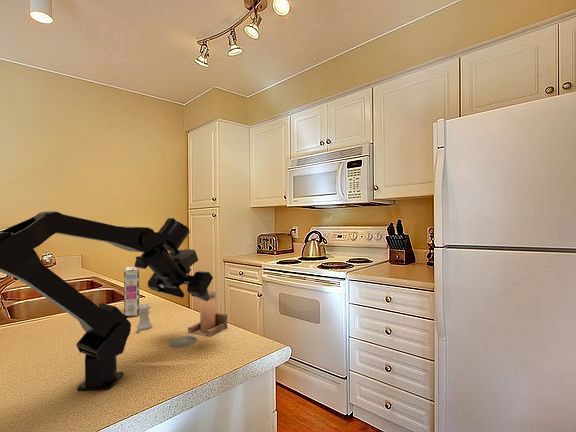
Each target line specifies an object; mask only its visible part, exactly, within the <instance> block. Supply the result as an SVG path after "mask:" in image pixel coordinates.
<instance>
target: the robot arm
mask: <svg viewBox="0 0 576 432" xmlns="http://www.w3.org/2000/svg"><path fill="white" fill-rule="evenodd" d="M55 234H57V235H63V236H69V237H74V238H81V239H87V240H93V241H96V242H103V243H107V244H111V245H112V246H114V247H117V248H119V249H121V250H124V251H127V252H134V253H135V252H137V253H142V254H141V255H140V256H139V255H138V256H135V259H136V260H135V262H134V266H135V267H137V268H139V269H143V270H146V269H147V268H149V270H151V271H152V272H153V274H151V276H150V278H149V280H147V287H148V288H149V289H150V290H151V291H156V292H158V293H162V294H166V295H169V296H174V297H176V298H180V299H183V298H184V297H185V293H184V291H183V290H182V289H181V287H180V286H182V285H187V288H186V289H187V290H186V292H188V294H190V296H191V297H193V298H196V299H199V300H200V299H201V300H204V301H208V300H209V294H208V291H209V289H208V288H209V286H210V284H211V282H212V280H213V279H214V277H213V275H212V273H211V272H210V271H202V270H201V271H200V270H199V271H195V272H194V274H193V275H190V272H191V271H192V268H191V267H192V266H193V265H194V264H195V263H197V262H198V261H199V258H198V255H197V253H196V252H197V251H196V250H195V249H186V248H185V249H179V248H180V247H181V246H182V244H183V243H184V242H185V240H186V238H187V237H188V236H189V234H190V229H189V227H188V226H187V225H184V223H182V222H180V221H177V220H176V219H175V218H174V217H168V218H167V219H166V220H165V222H164V224H163V225H162V226H161V227H160V229H159V230H158V231H155V230H154V229H153V228H151V227H146V226H117V225H113V224H108V223H104V222H99V221H94V220H91V219H87V218H86V219H85V218H83V217H82V218H81V217H76V216H72V215H68V214H64V213H62V212H59V211H54V210H53V211H52V210H51V211H50V210H49V211H41V212H39V213H37V214H36V215H33V216H32V217H30V218H28V219H26V220H25V219H24V220H23V221H21V222H18V223H16V224H14V225H11V226H9V227H7V228H4V229H3V230H0V273H2V274H4V275H7V276H10V277H11V278H15V279H17V280H19V281H20V282H22V283H23V284H25V285H26V286H28V287H29V288H31V289H32V290H33V291H35V292H36V293H38V294H40V295H41V296H42V297H44V298H45V299H46V300H48V301H49V302H51V303H52V304H54V305H55V306H57V307H59V308H60V309H61V310H63V311H64V312H66V313H67V314H68V315H70V316H71V317H73V318H74V319H75V320H77V321H78V322H79V324H80V326H81V328H82V329H83V330H84V332H85V333H84V334H83V335H82V336H81V338H80V339H79V340H78V342H76V343H75V345H76V348H77V350H78V352H79V353H80V354H84V356H85V357H84V379H85V380H84V381H82V383H81V384H80V385H78V386H77V388H76V390H77V391H97V390H98V391H99V390H110V389H111V388H113V386H114V385H115V384H116V383H117V382H118V381H119V380H120V379H121V378H122V377H123V375H124V371H118V368H117V360H118V359H117V356H119V355H122V354H124V350H125V347H126V345H127V341H128V337H130V335H131V329H132V328H131V327H132V324H131V321H130V320H128V319H129V318H130V317H129V316H127V315H124V313H123V312H122V311H121V310H120V308H118V307H117V306H115V305H111V304H107V303H103V302H100V303H99V305H97V304H96V303H94V302H93V301H92V300H90V299H89V298H88V297H86V296H85V295H84V294H82V293H81V292H80V291H79V290H77V288H75V287H74V286H72V285H71V284H70V283H68V282H67V281H66V280H64V279H63V278H62V277H60V276H59V275H57V274H56V273H55V272H54V271H53V270H51V269H50V268H48V266H46V265H45V264H43V262H42V260H41V258H40V256H39V254H38V253H37V251H36V250H35V249H36V248H37V247H39V246H41V245H42V244H43V243H45V241H47V240H48V239H49V238H51V237H52V236H53V235H55Z"/></svg>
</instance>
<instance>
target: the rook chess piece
mask: <svg viewBox="0 0 576 432" xmlns="http://www.w3.org/2000/svg"><path fill="white" fill-rule="evenodd" d="M150 308H151V307H150V306H149V303H145V304H139V308H138V309H139V320H138V325H136V333H138V334H139V333H141V331H145V330H149V329H151V328H152V327H153V325H152V323H151V321H150V318H149V314H150V312H149V309H150Z"/></svg>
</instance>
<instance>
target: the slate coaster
mask: <svg viewBox="0 0 576 432" xmlns="http://www.w3.org/2000/svg"><path fill="white" fill-rule="evenodd" d="M197 341H198V340H197V338H196V337H195V336H190V335H188V336H180V337H179V336H178V337H175V338H173V339H171V340H170V341H169V346H171V347H173V348H184V347H189V346H192V345H195V343H197Z"/></svg>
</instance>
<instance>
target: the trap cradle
mask: <svg viewBox="0 0 576 432" xmlns="http://www.w3.org/2000/svg"><path fill="white" fill-rule="evenodd" d="M215 318H216V326H215V327H213V328H211V329H209V330H207V331H206V333H203V332H201V331H200V322H197V323H195V324H193V325H191V326H190V325H189V326H188V327H187V333H188V334H193V335H197V336H203V337H207V338H208V337H209V338H211V337H213V336H215V335H216V334H218V333H221V332H223V331H224V330H226V329H228V314H225V313H219V312H215Z"/></svg>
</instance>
